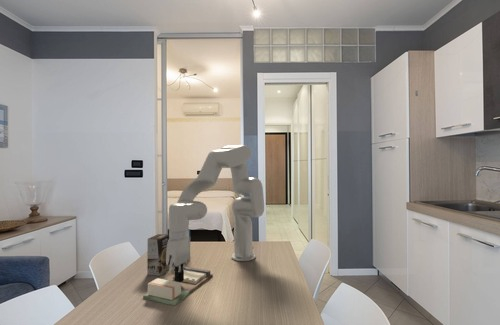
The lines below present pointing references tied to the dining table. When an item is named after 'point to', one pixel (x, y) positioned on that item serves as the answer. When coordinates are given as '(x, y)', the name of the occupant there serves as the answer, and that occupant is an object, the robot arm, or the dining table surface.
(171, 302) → the board
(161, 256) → the coffee box
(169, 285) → the stub
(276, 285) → the dining table surface
